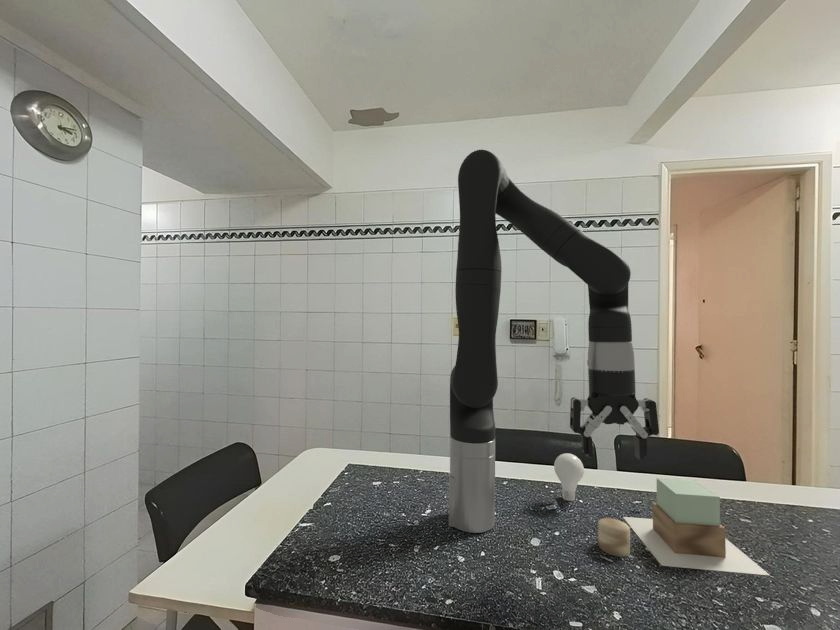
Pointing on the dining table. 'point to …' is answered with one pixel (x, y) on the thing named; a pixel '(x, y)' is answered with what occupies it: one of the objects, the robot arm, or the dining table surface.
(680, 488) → the sage block
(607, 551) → the birch cylinder
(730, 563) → the base board
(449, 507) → the robot arm
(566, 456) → the lightbulb
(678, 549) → the walnut block
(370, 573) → the dining table surface
